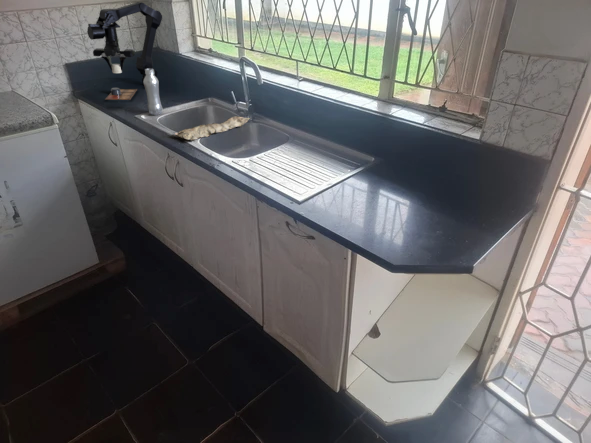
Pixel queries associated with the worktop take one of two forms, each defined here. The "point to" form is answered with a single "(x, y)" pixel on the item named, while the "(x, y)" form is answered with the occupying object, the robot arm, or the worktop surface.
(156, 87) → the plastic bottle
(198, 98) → the worktop surface
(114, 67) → the white lidded jar
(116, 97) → the wooden grid board
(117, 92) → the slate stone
